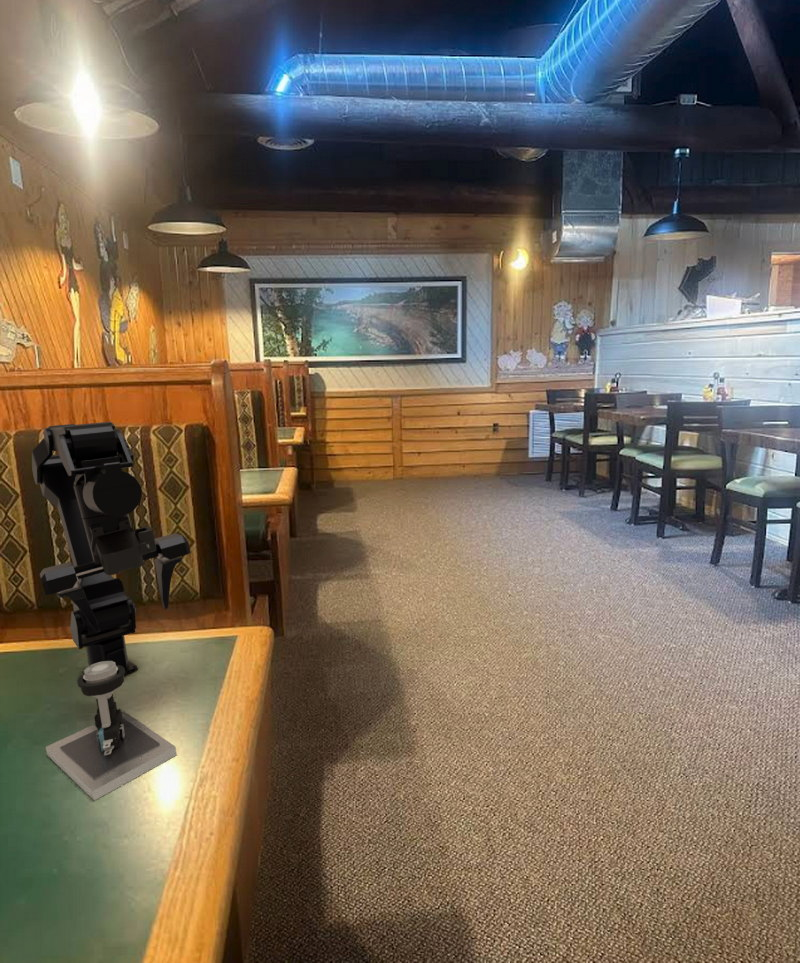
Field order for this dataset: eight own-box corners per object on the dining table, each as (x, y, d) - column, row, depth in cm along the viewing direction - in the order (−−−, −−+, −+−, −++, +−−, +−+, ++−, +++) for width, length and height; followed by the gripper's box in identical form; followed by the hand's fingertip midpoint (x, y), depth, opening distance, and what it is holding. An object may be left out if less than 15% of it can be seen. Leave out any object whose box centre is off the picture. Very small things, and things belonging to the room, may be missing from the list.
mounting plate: (47, 755, 77) (45, 745, 76) (124, 718, 84) (123, 709, 84) (94, 800, 68) (92, 789, 67) (176, 755, 75) (175, 745, 75)
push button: (131, 753, 73) (119, 677, 72) (82, 764, 72) (69, 687, 70) (136, 724, 80) (125, 654, 78) (92, 734, 78) (80, 662, 76)
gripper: (29, 537, 72) (63, 659, 74) (186, 498, 81) (213, 607, 84) (27, 530, 81) (57, 638, 83) (168, 496, 91) (193, 594, 93)
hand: (132, 619), depth 85 cm, fingers open, 9 cm apart
